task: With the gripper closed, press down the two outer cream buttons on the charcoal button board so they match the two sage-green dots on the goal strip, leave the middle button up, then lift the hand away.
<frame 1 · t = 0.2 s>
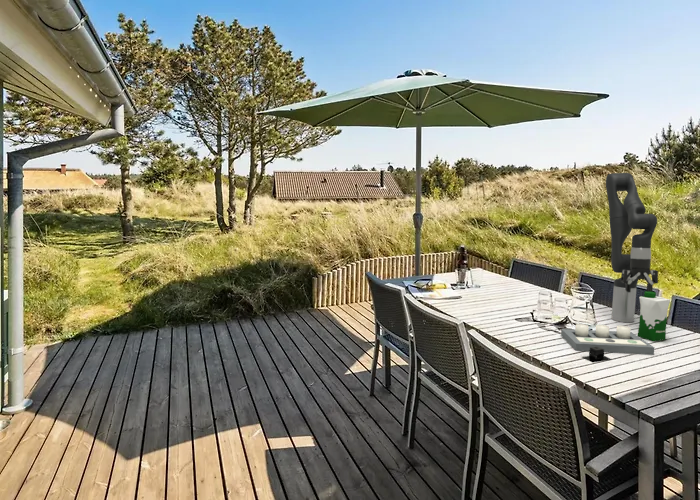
hand: (638, 292, 180), 18 cm above the table, tool pointing down, fingers open, 8 cm apart
button A: (623, 333, 164), point 5 cm above the table, slide at 0.0 cm
button C: (581, 331, 167), point 5 cm above the table, slide at 0.0 cm
black boxy piece: (596, 360, 150), on the table
milk carton: (651, 338, 170), on the table
button B: (602, 332, 166), point 5 cm above the table, slide at 0.0 cm
button board: (604, 344, 164), on the table
goal strip: (610, 341, 159), resting on button board
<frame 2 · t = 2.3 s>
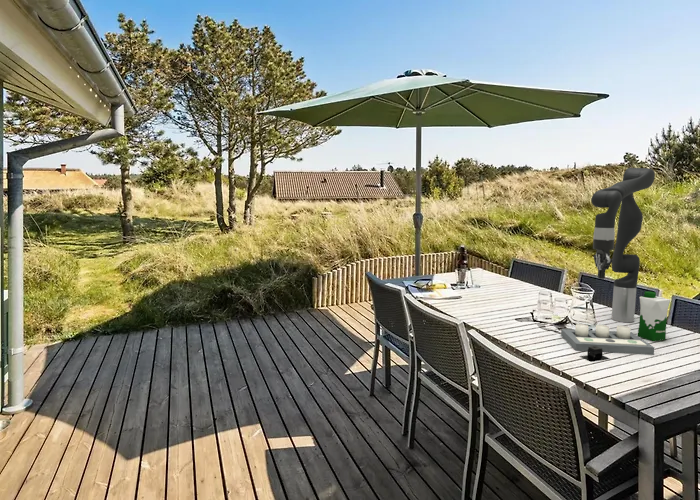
hand: (601, 278, 167), 27 cm above the table, tool pointing down, fingers closed
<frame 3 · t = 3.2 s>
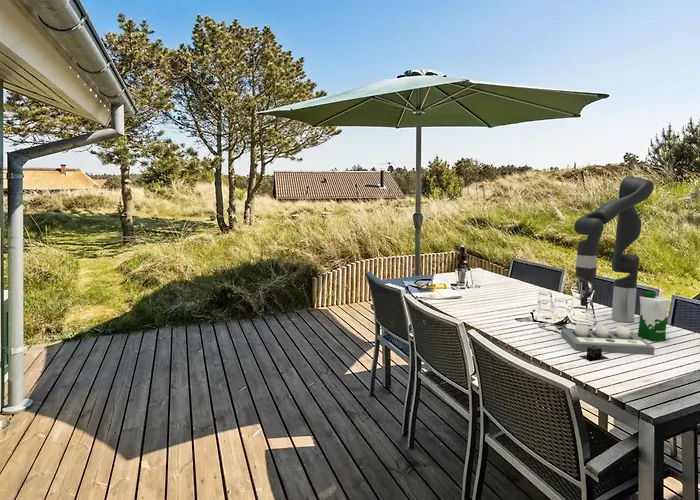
hand: (583, 305, 166), 16 cm above the table, tool pointing down, fingers closed
nothing on the table moved.
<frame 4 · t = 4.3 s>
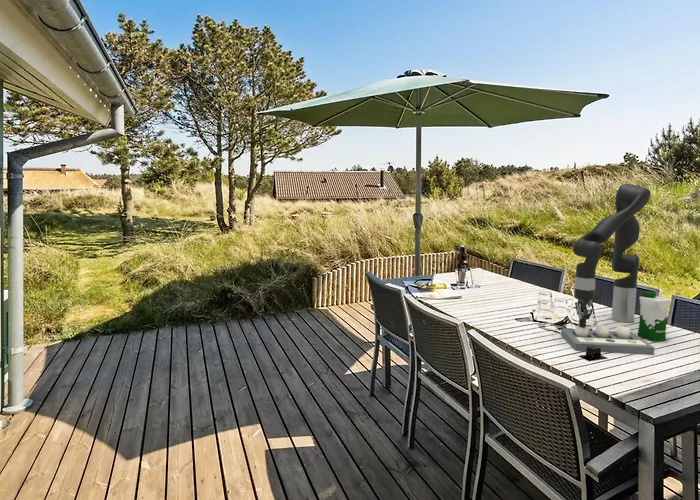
hand: (582, 327, 167), 6 cm above the table, tool pointing down, fingers closed
button C: (581, 332, 167), point 4 cm above the table, slide at 0.6 cm, touching gripper
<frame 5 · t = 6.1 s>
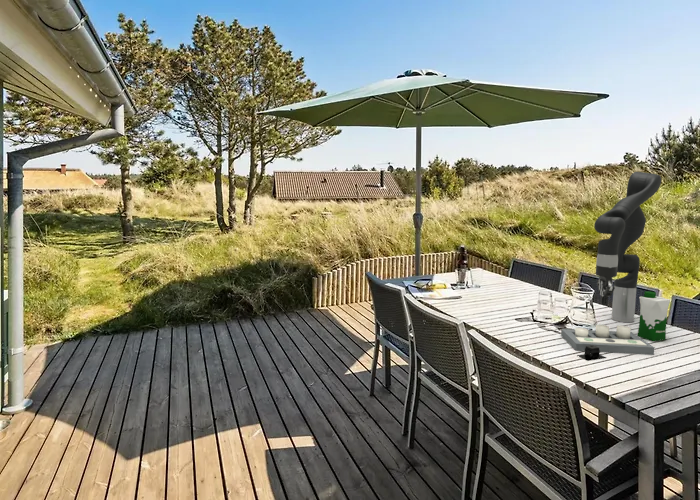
hand: (603, 304, 165), 16 cm above the table, tool pointing down, fingers closed
button C: (581, 335, 168), point 3 cm above the table, slide at 1.7 cm
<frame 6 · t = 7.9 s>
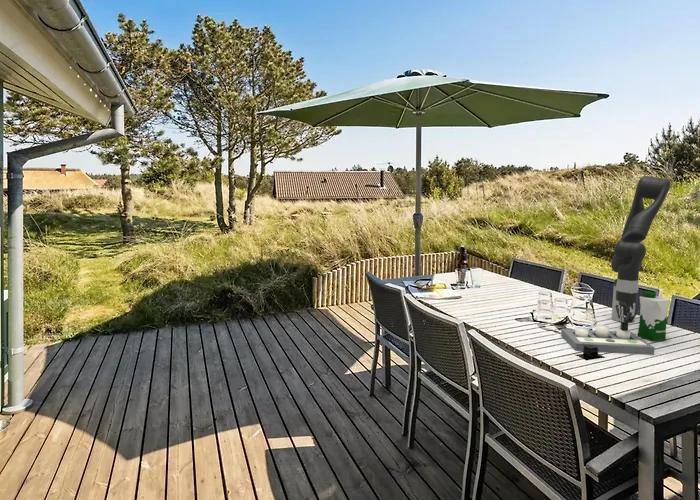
hand: (624, 330, 164), 6 cm above the table, tool pointing down, fingers closed
button A: (623, 335, 164), point 3 cm above the table, slide at 1.2 cm, touching gripper
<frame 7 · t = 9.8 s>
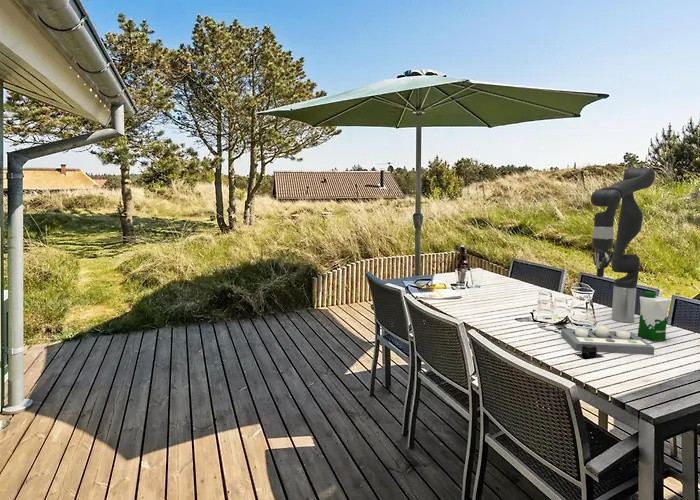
hand: (599, 276, 169), 27 cm above the table, tool pointing down, fingers closed
button A: (623, 337, 164), point 3 cm above the table, slide at 1.7 cm
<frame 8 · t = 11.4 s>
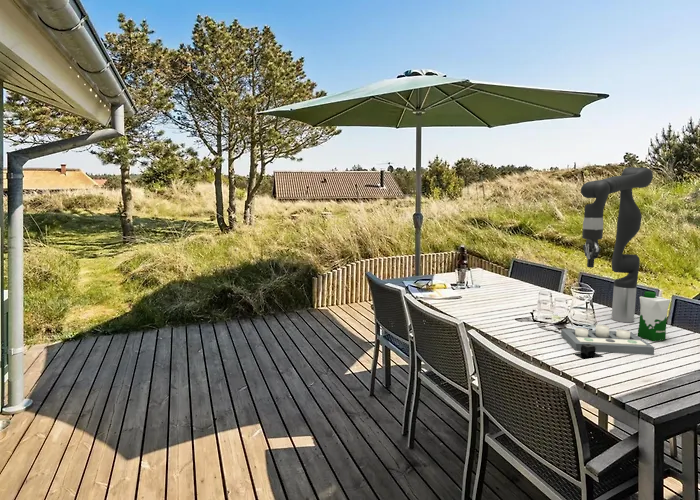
hand: (590, 267, 171), 31 cm above the table, tool pointing down, fingers closed
at the end: button C slide at 1.7 cm; button A slide at 1.7 cm; button B slide at 0.0 cm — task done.
